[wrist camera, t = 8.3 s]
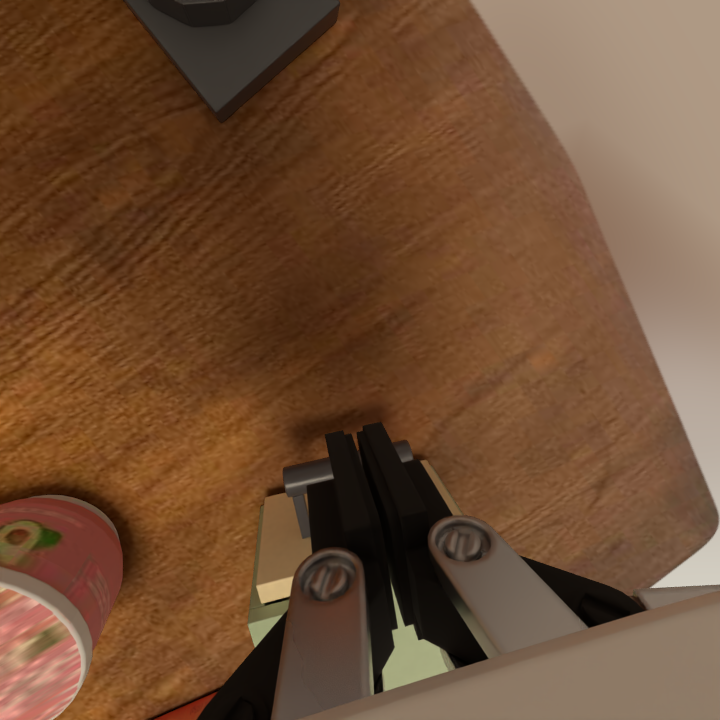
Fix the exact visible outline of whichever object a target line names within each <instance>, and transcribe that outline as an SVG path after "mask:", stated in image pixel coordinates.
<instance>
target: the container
mask: <svg viewBox="0 0 720 720" xmlns="http://www.w3.org/2000/svg"><path fill="white" fill-rule="evenodd" d="M122 580H123V553H122V549H121V545H120V540H119V536H118V532H117V530H116V528H115V526H114V524H113V523H112V522H111V520H110V519H109V518H108V517H107V516H106V515H105V514H104V513H103V512H102V511H100V510H99V509H98V508H96V507H95V506H93V505H91V504H89V503H87V502H85V501H82V500H79V499H77V498H73V497H68V496H63V495H41V496H34V497H30V498H27V499H18V500H15V501H11V502H8V503H4V504H1V505H0V720H53V719H54V718H56V717H57V716H58V715H60V714H61V713H62V712H63V711H64V710H65V708H66V707H67V706H68V705H69V704H70V703H71V702H72V701H73V700H74V698H75V696H76V694H77V693H78V691H79V689H80V688H81V686H82V684H83V682H84V680H85V678H86V676H87V674H88V671H89V667H90V664H91V660H92V651H93V649H94V648H95V646H96V644H97V641H98V639H99V637H100V634H101V632H102V630H103V627H104V625H105V623H106V621H107V618H108V616H109V614H110V611H111V609H112V607H113V604H114V602H115V600H116V597H117V595H118V593H119V590H120V587H121V583H122Z"/></svg>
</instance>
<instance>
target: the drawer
mask: <svg viewBox="0 0 720 720" xmlns="http://www.w3.org/2000/svg"><path fill="white" fill-rule="evenodd" d="M392 444H393V446H394V448H395V450H396V451H397V453H398V455H399V457H400V459H401V461H402V463H403V462H407V461H411V460H413V455H412V451H411V448H410V445H409V443H408V441H407V440H402V441H398V442H393V443H392ZM357 452H358V455H359V458H360V461H361V457H360V451H359V450H358V451H357ZM421 463H422V464H423V466H424V468H425V469H426V471H427V473H428V474H429V476H430V478H431V479H432V481H433V483H434V484H435V486H436V488H437V489H438V491H439V492H440V494H441V496H442V497H443V499H444V501H445V502H446V504H447V506H448V507H449V509H450V511H451V512H452V514H453V515H462V514H461V512H460V511H459V509H458V508H457V506H456V505H455V503H454V502H453V500H452V498H451V497H450V495H449V494H448V492H447V491H446V489H445V488H444V486H443V485H442V483H441V482H440V480H439V478H438V477H437V475H436V474H435V472H434V471H433V469H432V468H431V466H430V465H429V463H428V461H427V460H422V461H421ZM361 464H362V462H361ZM331 479H334V478H333V473H332V468H331V463H330V458H329V457H327V458H323V459H319V460H314V461H310V462H305V463H301V464H297V465H292V466H288V467H284V468H283V481H284V487H285V491H286V493H282V494H278V495H273V496H269V497H265V501H264V511H263V521H262V531H261V542H260V552H259V562H258V572H257V582H256V588H257V591H258V595H259V598H260V601H261V603H262V604H263V603H267V602H271V601H274V600H278V599H281V602H282V601H285V600H289V599H290V593H291V586H292V580H293V577H294V574H295V571H296V570H297V568H298V567H299V565H300V564H301V562H302V561H304V560H305V559H306V558H307V557H308V556H309V555H311V554H312V548H311V536H310V524H309V512H308V500H307V485H310V484H314V483H318V482H323V481H327V480H331Z"/></svg>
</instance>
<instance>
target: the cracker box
mask: <svg viewBox="0 0 720 720" xmlns="http://www.w3.org/2000/svg"><path fill="white" fill-rule="evenodd" d="M216 693H217V692H215V693H213V694H211V695H209V696H206V697H204V698H202V699H199V700H197V701H195V702H193V703H190V704H188V705H186V706H183V707H181V708H179V709H176V710H174V711H172V712H169V713H167V714H165V715H163V716H160V717H158V718H156V719H154V720H196V719H197V718H198V716H199V715H200V714H201V712H202V711H203V709H204V708H205V706H206V705H207V704H208V703H209V702H210V700H211V699H212V698H213V697H214V696H215V694H216Z"/></svg>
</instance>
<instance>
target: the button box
mask: <svg viewBox="0 0 720 720" xmlns="http://www.w3.org/2000/svg"><path fill="white" fill-rule="evenodd" d="M123 1H124V3H125V4H126V5H127V6H128V8H129V9H130V10H131V11H132V13H133V14H134V15H135V16H136V18H137V19H138V20H139V21H140V23H141V24H142V25H143V26H144V28H145V29H146V30H147V31H148V33H149V34H150V35H151V36H152V38H153V39H154V40H155V41H156V43H157V44H158V45H159V46H160V48H161V49H162V50H163V51H164V53H165V54H166V55H167V56H168V58H169V59H170V60H171V61H172V63H173V64H174V65H175V66H176V68H177V69H178V70H179V71H180V73H181V74H182V75H183V76H184V78H185V79H186V80H187V81H188V83H189V84H190V85H191V86H192V88H193V89H194V90H195V91H196V93H197V94H198V95H199V96H200V98H201V99H202V100H203V101H204V103H205V104H206V105H207V106H208V108H209V109H210V110H211V111H212V113H213V114H214V115H215V116H216V118H217V119H218V120H219V121H220V122H221V123H223V122H224V121H225V120H226V119H227V118H228V117H229V116H230V115H232V114H233V113H234V112H235V111H236V110H237V109H238V108H239V107H241V106H242V105H243V104H244V103H245V102H246V101H247V100H249V99H250V98H251V97H252V96H253V95H254V94H255V93H256V92H258V91H259V90H260V89H261V88H262V87H263V86H264V85H265V84H267V83H268V82H269V81H270V80H271V79H272V78H273V77H275V76H276V75H277V74H278V73H279V72H280V71H281V70H282V69H284V68H285V67H286V66H287V65H288V64H289V63H290V62H291V61H293V60H294V59H295V58H296V57H297V56H298V55H299V54H301V53H302V52H303V51H304V50H305V49H306V48H307V47H308V46H310V45H311V44H312V43H313V42H314V41H315V40H316V39H317V38H319V37H320V36H321V35H322V34H323V33H324V32H325V31H327V30H328V29H329V28H330V27H331V26H332V25H333V24H334V23H336V21H337V16H338V11H339V6H340V2H339V0H123Z"/></svg>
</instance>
